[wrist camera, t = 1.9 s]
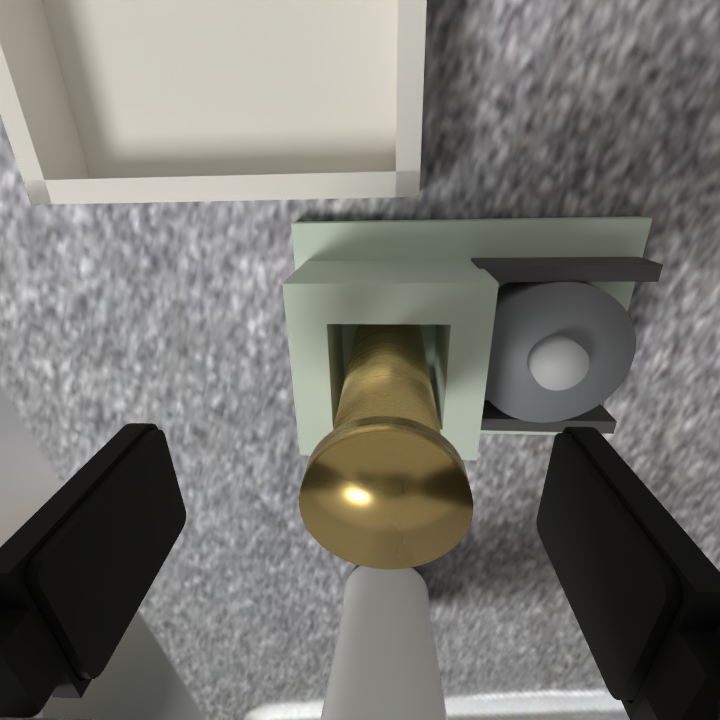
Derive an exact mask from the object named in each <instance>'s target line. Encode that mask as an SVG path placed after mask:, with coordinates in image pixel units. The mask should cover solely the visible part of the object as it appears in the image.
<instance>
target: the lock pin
mask: <svg viewBox="0 0 720 720" xmlns="http://www.w3.org/2000/svg"><path fill="white" fill-rule="evenodd" d="M299 507H300V512H301V516H302V519H303V521H304V524H305V525H306V527H307V529H308V531H309V532H310V533H311V535H312V536H313V537H314V538H315V540H316V541H317V542H318V543H319V544H320V545H322V546H323V547H324V548H325V549H327V550H328V551H329V552H331V553H333V554H334V555H336V556H338V557H340V558H342V559H344V560H346V561H348V562H351V563H354V564H357V565H361V566H364V567H369V568H376V569H405V568H411V567H416V566H419V565H423V564H426V563H429V562H431V561H434V560H436V559H437V558H439V557H441V556H443V555H444V554H446V553H447V552H449V551H450V550H451V549H453V548H454V547H455V546H456V545H457V544H458V543H459V542H460V540H461V539H462V538H463V537H464V535H465V533H466V532H467V530H468V528H469V525H470V523H471V520H472V515H473V499H472V493H471V489H470V485H469V481H468V477H467V473H466V470H465V466H464V463H463V461H462V459H461V457H460V455H459V453H458V452H457V450H456V449H455V448H454V446H453V445H452V444H451V443H450V442H449V441H448V440H447V439H446V438H445V437H444V436H442V435H441V432H440V427H439V422H438V416H437V411H436V406H435V401H434V395H433V390H432V385H431V380H430V374H429V369H428V364H427V359H426V353H425V348H424V343H423V338H422V332H421V329H420V326H419V324H359V325H358V327H357V330H356V334H355V339H354V343H353V347H352V351H351V356H350V360H349V364H348V368H347V373H346V377H345V381H344V385H343V390H342V394H341V398H340V403H339V407H338V411H337V415H336V420H335V424H334V428H333V431H332V432H330V433H329V434H328V435H326V436H325V437H324V438H323V439H322V440H321V441H320V442H319V443H318V445H317V446H316V448H315V449H314V451H313V452H312V454H311V456H310V459H309V462H308V465H307V468H306V472H305V475H304V478H303V482H302V485H301V489H300V495H299Z"/></svg>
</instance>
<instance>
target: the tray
mask: <svg viewBox="0 0 720 720" xmlns="http://www.w3.org/2000/svg"><path fill="white" fill-rule="evenodd" d="M426 6H427V0H0V114H1V117H2V120H3V123H4V126H5V129H6V132H7V134H8V137H9V140H10V143H11V146H12V149H13V152H14V155H15V158H16V161H17V164H18V167H19V170H20V173H21V176H22V178H23V181H24V184H25V187H26V190H27V193H28V196H29V199H30V202H31V205H39V204H90V203H142V202H193V201H244V200H295V199H346V198H398V197H419V191H420V164H421V138H422V112H423V85H424V59H425V33H426Z"/></svg>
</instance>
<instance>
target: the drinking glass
mask: <svg viewBox="0 0 720 720" xmlns="http://www.w3.org/2000/svg"><path fill="white" fill-rule="evenodd" d="M320 720H448V718H447V713H446V707H445V701H444V695H443V689H442V683H441V677H440V671H439V665H438V660H437V654H436V648H435V641H434V635H433V629H432V623H431V616H430V605H429V594H428V589H427V585H426V583H425V581H424V579H423V577H422V576H421V575H420V574H419V573H418V572H417V571H416V570H415V569H413V568H412V567H411V568H405V569H376V568H369V567H364V566H361V565H360V566H358V567H357V568H356V569H355V570H353V572H352V573H351V574H350V575H349V577H348V579H347V581H346V584H345V589H344V597H343V606H342V613H341V619H340V624H339V629H338V634H337V639H336V645H335V650H334V655H333V660H332V665H331V670H330V675H329V680H328V685H327V690H326V695H325V700H324V705H323V710H322V715H321V719H320Z"/></svg>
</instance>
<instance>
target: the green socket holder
mask: <svg viewBox="0 0 720 720" xmlns="http://www.w3.org/2000/svg"><path fill="white" fill-rule="evenodd" d="M652 220H653V218H648V217H642V216H634V217H568V218H503V219H437V220H371V221H306V222H294V223H291V227H292V238H293V249H294V261H295V272H294V273H293V274H292V275H291V276H290V277H289V278H288V279H287V280H286V281H285V282H284V283H283V284H282V285H283V294H284V304H285V314H286V323H287V333H288V342H289V352H290V362H291V371H292V381H293V391H294V400H295V410H296V420H297V429H298V439H299V449H300V455H311V454H312V452H313V451H314V449H315V448H316V446H317V445H318V443H319V442H320V441H321V440H322V439H323V438H324V437H325V436H326V435H328V434H329V433H330V432H332V431H333V428H334V424H335V420H336V415H337V411H338V407H339V403H340V398H341V394H342V390H343V385H344V381H345V377H346V373H347V368H348V364H349V360H350V356H351V351H352V347H353V343H354V339H355V334H356V330H357V327H358V325H359V324H419V326H420V329H421V332H422V338H423V343H424V348H425V353H426V359H427V364H428V369H429V374H430V380H431V385H432V390H433V395H434V401H435V406H436V411H437V416H438V422H439V427H440V432H441V435H442V436H444V437H445V438H446V439H447V440H448V441H449V442H450V443H451V444H452V445H453V446H454V448H455V449H456V450H457V452H458V453H459V455H460V457H461V459H462V460H477V453H478V445H479V437H480V433H493V434H533V435H556V434H557V433H562V432H563V430H564V429H565V428H566V427H594V428H596V429H597V430H598V431H599V432H600V433H611V434H613V433H614V430H615V426H616V423H617V421H616V420H615V419H614V418H613V417H612V416H611V415H610V414H609V413H608V412H607V411H606V410H605V408H604V407H603V406H602V405H603V401H605V400H606V399H607V398H608V397H609V396H610V395H611V394H612V393H613V392H614V391H615V390H616V389H617V388H618V387H619V385H620V384H621V383H622V381H623V380H624V378H625V377H626V375H627V373H628V371H629V369H630V367H631V364H632V361H633V358H634V353H635V346H636V337H635V330H634V326H633V322H632V320H631V318H630V316H629V314H628V309H629V305H630V301H631V297H632V294H633V290H634V286H635V283H636V282H658V280H659V277H660V273H661V270H662V266H663V265H662V264H659V263H656V262H653V261H650V260H646V259H643V258H642V257H643V253H644V249H645V246H646V242H647V238H648V235H649V231H650V227H651V224H652Z"/></svg>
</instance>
